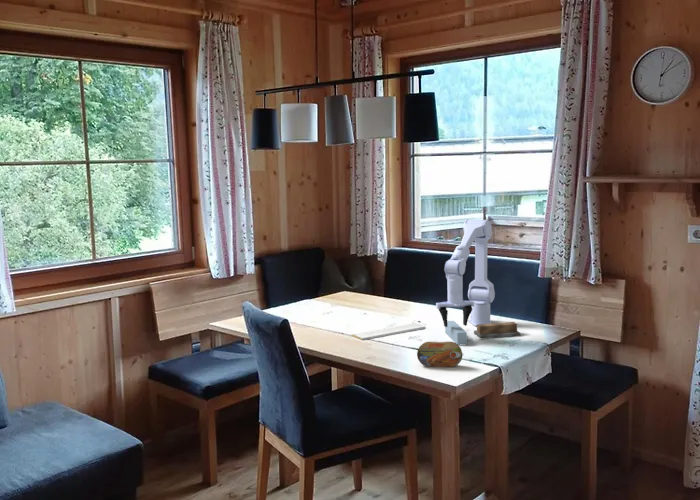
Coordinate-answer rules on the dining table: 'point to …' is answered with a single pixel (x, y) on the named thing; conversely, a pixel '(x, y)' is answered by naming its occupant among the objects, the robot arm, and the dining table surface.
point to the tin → (439, 354)
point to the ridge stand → (497, 330)
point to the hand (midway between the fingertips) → (455, 325)
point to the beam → (456, 333)
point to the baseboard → (388, 331)
